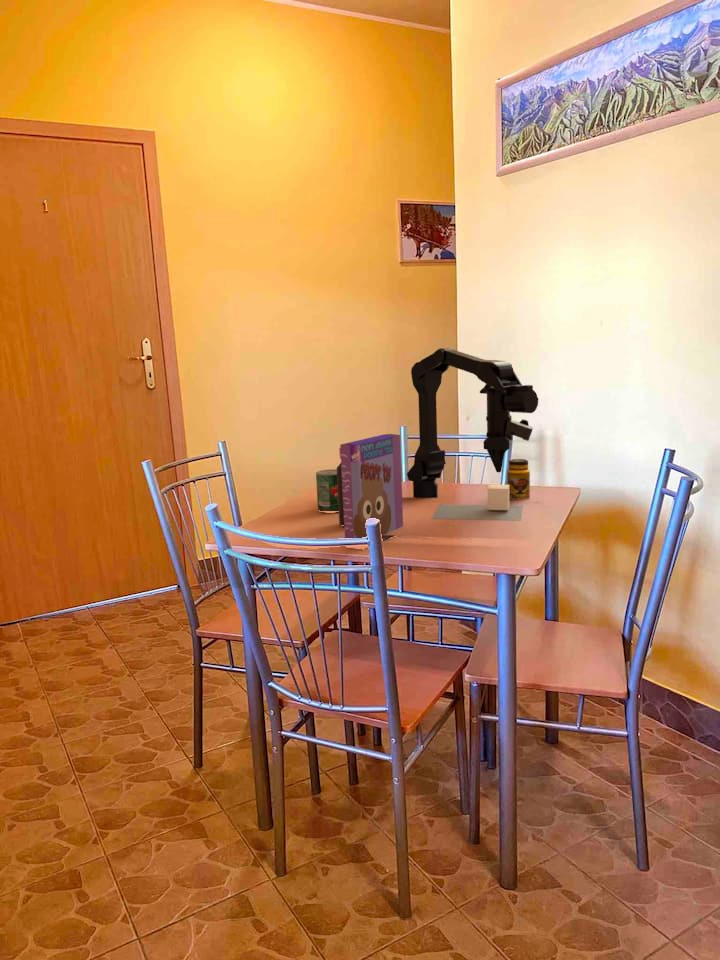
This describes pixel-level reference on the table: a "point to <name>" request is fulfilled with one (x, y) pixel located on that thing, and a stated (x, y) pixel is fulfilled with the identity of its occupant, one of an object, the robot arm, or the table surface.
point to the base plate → (477, 512)
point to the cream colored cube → (498, 497)
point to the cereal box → (372, 484)
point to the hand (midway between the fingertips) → (498, 472)
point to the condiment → (518, 479)
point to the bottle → (340, 493)
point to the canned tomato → (327, 490)
